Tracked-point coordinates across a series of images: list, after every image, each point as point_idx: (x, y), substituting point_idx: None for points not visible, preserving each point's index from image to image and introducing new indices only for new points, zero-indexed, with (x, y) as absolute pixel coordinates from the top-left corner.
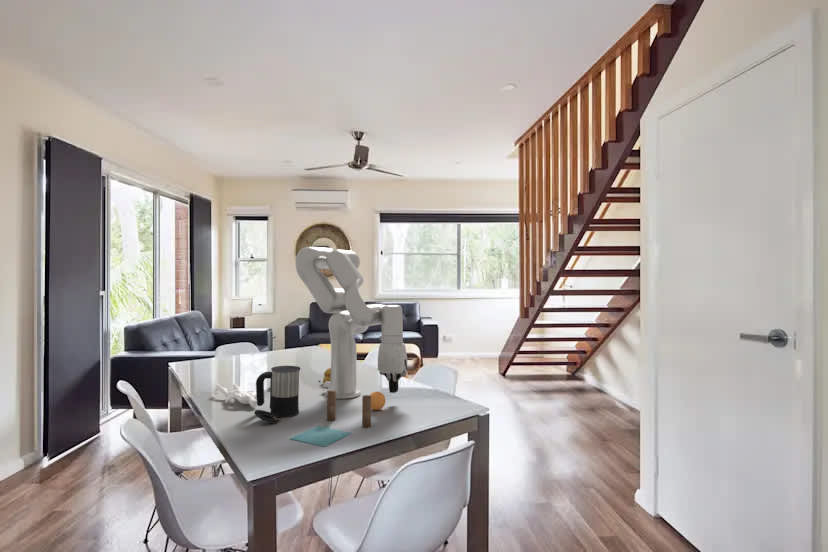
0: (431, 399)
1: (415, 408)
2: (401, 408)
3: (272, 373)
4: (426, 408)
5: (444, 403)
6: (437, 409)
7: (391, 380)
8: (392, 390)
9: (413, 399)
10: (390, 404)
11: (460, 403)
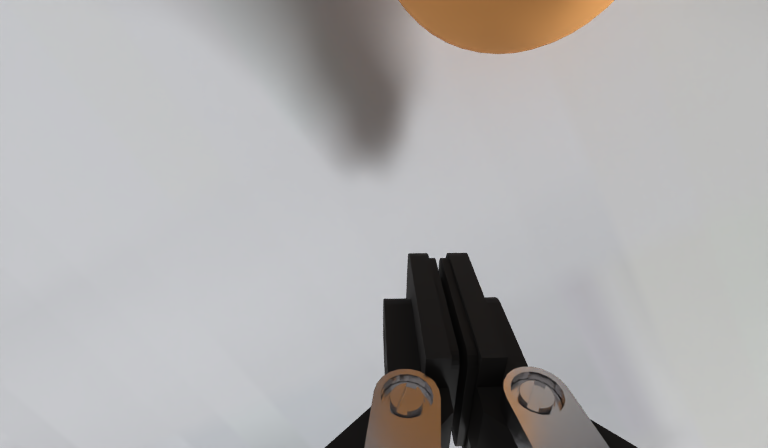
0: (229, 422)
1: (165, 188)
2: (270, 124)
3: None
4: (93, 232)
5: (93, 387)
6: (5, 248)
7: (482, 395)
8: (423, 266)
9: (337, 378)
10: (435, 189)
11: (16, 423)
